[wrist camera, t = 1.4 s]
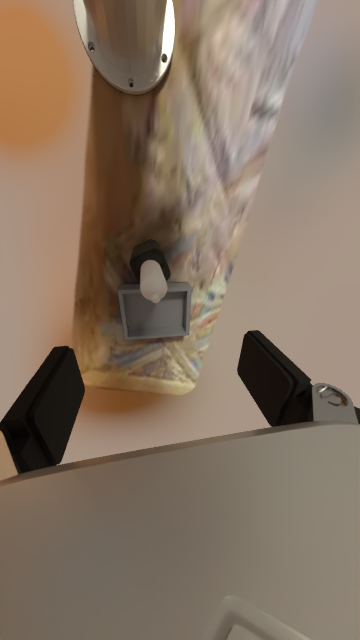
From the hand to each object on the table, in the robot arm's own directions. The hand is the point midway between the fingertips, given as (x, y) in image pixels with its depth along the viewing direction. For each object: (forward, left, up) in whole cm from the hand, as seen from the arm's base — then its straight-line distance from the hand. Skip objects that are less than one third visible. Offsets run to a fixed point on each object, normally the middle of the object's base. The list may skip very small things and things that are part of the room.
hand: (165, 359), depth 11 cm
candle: (0, 0, -33) cm, 33 cm away
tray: (+12, +1, -33) cm, 35 cm away
